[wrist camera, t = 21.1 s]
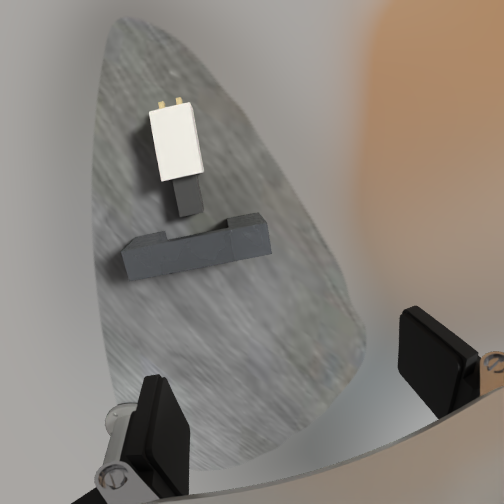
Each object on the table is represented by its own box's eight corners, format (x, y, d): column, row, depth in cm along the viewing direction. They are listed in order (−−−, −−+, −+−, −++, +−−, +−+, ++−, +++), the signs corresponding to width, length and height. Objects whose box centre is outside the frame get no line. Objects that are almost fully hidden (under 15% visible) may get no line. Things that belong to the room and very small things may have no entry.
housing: (262, 238, 35) (271, 253, 29) (142, 262, 34) (129, 281, 29) (258, 212, 34) (266, 222, 29) (135, 237, 34) (120, 252, 28)
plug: (211, 207, 34) (210, 213, 30) (175, 214, 33) (170, 221, 30) (191, 100, 30) (188, 92, 26) (155, 108, 30) (147, 102, 26)
